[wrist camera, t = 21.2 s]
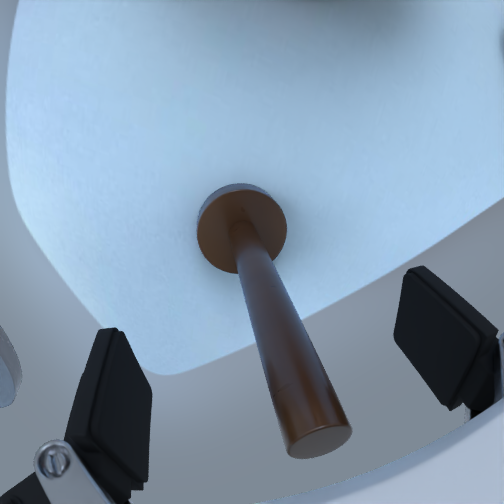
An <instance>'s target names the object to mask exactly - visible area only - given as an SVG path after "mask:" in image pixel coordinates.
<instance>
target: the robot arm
mask: <svg viewBox="0 0 504 504" xmlns="http://www.w3.org/2000/svg"><path fill="white" fill-rule="evenodd" d="M497 333H498V329H497V328H496V327H495V326H494V325H492V324H491V323H490V322H489V321H488V320H487V319H486V318H485V317H484V316H483V315H481V313H479V312H478V311H477V310H476V309H475V308H474V307H473V306H472V305H470V304H469V303H468V302H467V301H466V300H465V299H464V298H462V297H461V296H460V295H459V294H458V293H457V292H455V291H454V290H453V289H452V288H451V287H449V286H448V285H447V284H446V283H445V282H443V281H442V280H441V279H440V278H439V277H437V276H436V275H435V274H434V273H432V272H431V271H430V270H429V269H427V268H426V267H425V266H418V267H414V268H411V269H408V271H407V272H406V274H405V275H404V277H403V283H402V289H401V296H400V302H399V308H398V313H397V318H396V323H395V328H394V340H395V342H396V344H397V345H398V346H399V348H400V349H401V350H402V351H403V353H404V354H405V355H406V357H407V358H408V359H409V360H410V362H411V363H412V365H413V366H414V367H415V369H416V370H417V371H418V372H419V374H420V375H421V377H422V378H423V379H424V381H425V382H426V383H427V385H428V386H429V388H430V389H431V390H432V392H433V393H434V395H435V396H436V397H437V399H438V400H439V402H440V403H441V404H442V405H445V406H447V408H448V409H449V411H452V410H453V409H455V408H457V407H458V406H460V405H461V404H462V403H464V404H465V405H466V409H465V420H464V424H463V425H462V426H460V427H458V428H457V429H455V430H453V431H452V432H450V433H448V434H446V435H445V436H443V437H441V438H439V439H438V440H436V441H434V442H432V443H430V444H428V445H426V446H424V447H422V448H420V449H419V450H416V451H414V452H412V453H410V454H408V455H406V456H404V457H402V458H400V459H398V460H395V461H393V462H391V463H389V464H386V465H384V466H382V467H379V468H377V469H374V470H372V471H369V472H366V473H364V474H361V475H359V476H356V477H353V478H350V479H347V480H344V481H341V482H339V483H335V484H332V485H329V486H326V487H322V488H319V489H315V490H312V491H308V492H304V493H300V494H297V495H292V496H288V497H284V498H280V499H274V500H269V501H264V502H259V503H253V504H504V333H503V334H502V335H501V336H500V338H499V340H498V339H497V338H496V335H497ZM151 407H152V390H151V387H150V385H149V383H148V381H147V379H146V377H145V375H144V373H143V371H142V370H141V367H140V365H139V363H138V361H137V359H136V357H135V355H134V353H133V351H132V349H131V347H130V345H129V342H128V340H127V338H126V336H125V334H124V332H123V331H119V330H118V329H117V328H115V327H114V328H106V329H100V330H99V331H98V333H97V335H96V338H95V341H94V343H93V346H92V349H91V352H90V355H89V358H88V361H87V364H86V368H85V370H84V373H83V374H82V376H81V379H80V382H79V386H78V389H77V392H76V395H75V399H74V403H73V406H72V410H71V413H70V417H69V421H68V425H67V429H66V433H65V437H64V441H63V440H51V441H48V442H46V443H44V444H43V445H42V446H41V447H40V448H39V449H38V450H37V452H36V454H35V457H34V469H35V472H34V473H33V474H31V475H30V476H28V477H27V478H25V479H24V480H23V481H21V482H20V483H18V484H17V485H16V486H14V487H13V488H11V489H10V490H9V491H7V492H6V493H5V494H3V495H2V496H1V497H0V504H134V503H133V502H132V501H131V500H130V498H131V490H143V483H144V482H147V481H148V470H149V469H148V468H149V441H150V422H151Z"/></svg>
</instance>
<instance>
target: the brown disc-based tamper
mask: <svg viewBox="0 0 504 504" xmlns="http://www.w3.org/2000/svg"><path fill="white" fill-rule="evenodd" d="M286 234H287V224H286V219H285V216H284V213H283V211H282V209H281V208H280V206H279V205H278V204H277V203H276V202H275V200H274V199H273V198H272V197H271V196H270V195H269V194H268V193H267V192H265V191H264V190H262V189H261V188H259V187H256V186H253V185H250V184H232V185H228V186H225V187H222V188H220V189H219V190H217V191H215V192H214V193H213V194H211V195H210V196H209V197H208V198H207V200H206V201H205V202H204V204H203V205H202V207H201V209H200V211H199V215H198V219H197V240H198V244H199V248H200V250H201V252H202V254H203V255H204V257H205V258H206V259H207V260H208V261H209V262H210V263H211V264H212V265H213V266H215V267H216V268H218V269H220V270H222V271H225V272H229V273H235V274H239V278H240V282H241V286H242V290H243V294H244V298H245V302H246V305H247V309H248V313H249V317H250V321H251V325H252V328H253V332H254V336H255V340H256V343H257V347H258V351H259V354H260V358H261V362H262V366H263V369H264V373H265V377H266V380H267V383H268V388H269V391H270V395H271V398H272V402H273V405H274V409H275V413H276V416H277V419H278V424H279V427H280V431H281V434H282V437H283V441H284V444H285V448H286V451H287V453H288V455H290V456H291V457H293V458H297V459H308V458H314V457H318V456H322V455H324V454H327V453H329V452H332V451H333V450H335V449H337V448H339V447H340V446H342V445H343V444H344V443H345V442H346V441H348V439H349V438H350V437H351V435H352V426H351V424H350V422H349V420H348V418H347V416H346V414H345V411H344V409H343V407H342V405H341V403H340V401H339V399H338V397H337V394H336V392H335V390H334V388H333V386H332V384H331V382H330V380H329V378H328V375H327V374H326V371H325V369H324V367H323V365H322V363H321V361H320V359H319V357H318V355H317V353H316V350H315V348H314V346H313V344H312V342H311V340H310V338H309V336H308V334H307V332H306V330H305V328H304V325H303V323H302V321H301V319H300V317H299V315H298V313H297V311H296V309H295V307H294V305H293V303H292V301H291V299H290V297H289V295H288V293H287V291H286V288H285V286H284V284H283V282H282V280H281V278H280V276H279V274H278V272H277V270H276V268H275V266H274V264H273V262H272V261H273V260H274V259H275V258H276V257H277V256H278V254H279V253H280V251H281V249H282V247H283V245H284V243H285V239H286Z"/></svg>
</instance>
